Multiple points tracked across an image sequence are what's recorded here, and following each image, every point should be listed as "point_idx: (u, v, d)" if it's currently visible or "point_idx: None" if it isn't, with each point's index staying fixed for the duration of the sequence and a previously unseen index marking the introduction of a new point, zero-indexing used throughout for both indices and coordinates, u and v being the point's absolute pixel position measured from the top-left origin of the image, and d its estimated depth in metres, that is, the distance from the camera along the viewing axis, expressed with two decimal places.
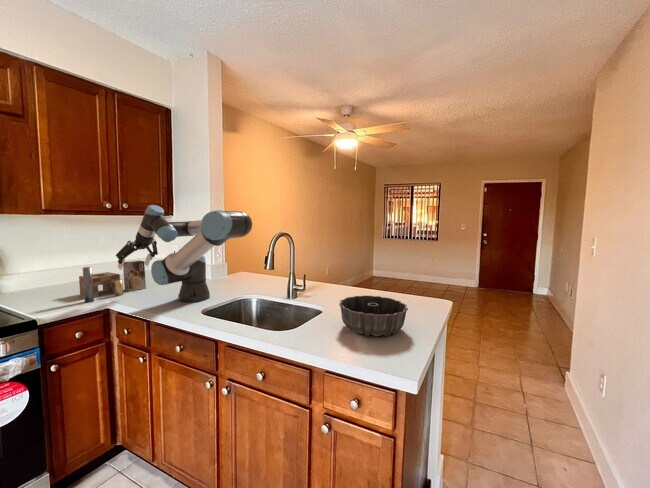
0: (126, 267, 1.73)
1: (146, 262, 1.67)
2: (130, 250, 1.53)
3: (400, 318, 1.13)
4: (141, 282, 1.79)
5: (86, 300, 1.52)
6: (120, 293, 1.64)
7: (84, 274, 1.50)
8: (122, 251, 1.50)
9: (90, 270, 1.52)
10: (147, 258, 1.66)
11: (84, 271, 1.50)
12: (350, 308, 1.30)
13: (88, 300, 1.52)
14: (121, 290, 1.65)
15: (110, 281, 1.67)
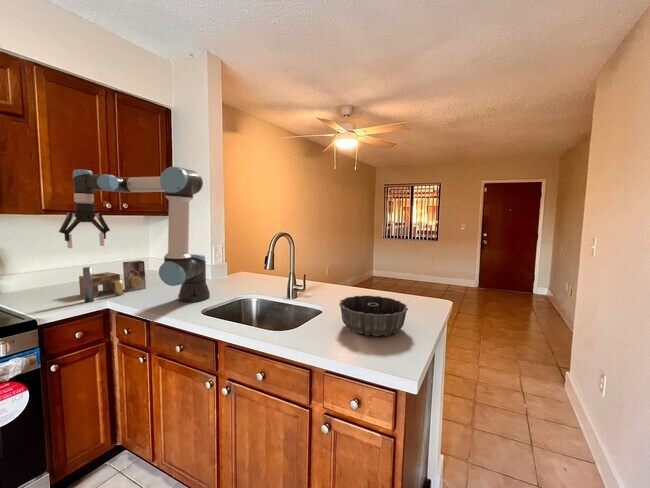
0: (126, 267, 1.73)
1: (101, 242, 1.57)
2: (73, 223, 1.45)
3: (400, 318, 1.13)
4: (141, 282, 1.79)
5: (86, 300, 1.52)
6: (120, 293, 1.64)
7: (84, 274, 1.50)
8: (64, 224, 1.42)
9: (90, 270, 1.52)
10: (100, 237, 1.56)
11: (84, 271, 1.50)
12: (350, 308, 1.30)
13: (88, 300, 1.52)
14: (121, 290, 1.65)
15: (110, 281, 1.67)
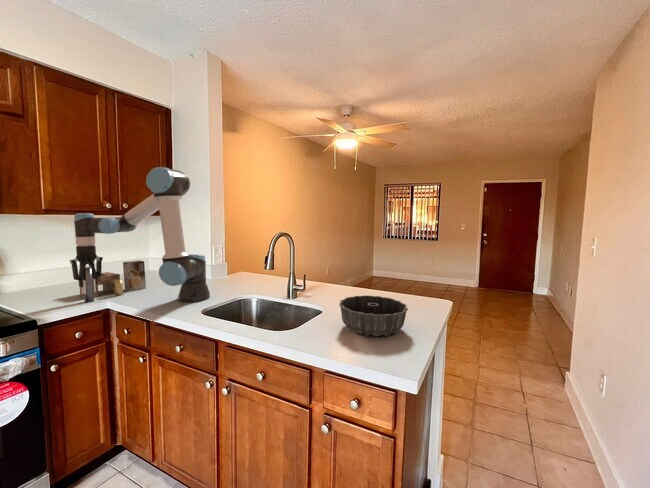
0: (126, 267, 1.73)
1: None
2: (81, 269, 1.49)
3: (400, 318, 1.13)
4: (141, 282, 1.79)
5: (86, 300, 1.52)
6: (120, 293, 1.64)
7: (84, 274, 1.50)
8: (74, 272, 1.47)
9: (90, 270, 1.52)
10: None
11: None
12: (350, 308, 1.30)
13: (88, 300, 1.52)
14: (121, 290, 1.65)
15: (110, 281, 1.67)
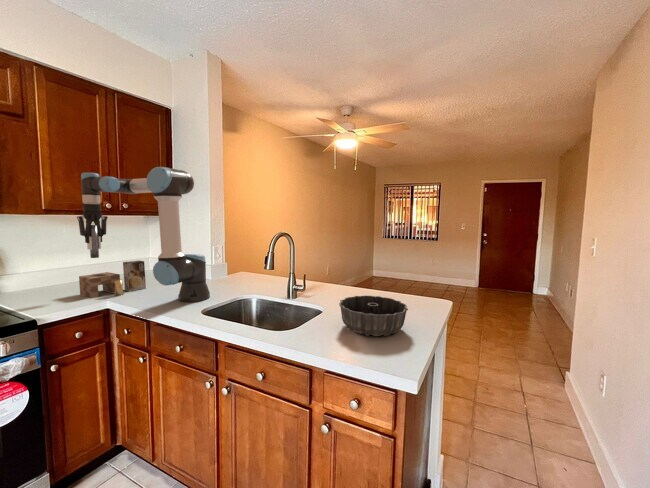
0: (126, 267, 1.73)
1: (98, 245, 1.63)
2: (87, 225, 1.58)
3: (400, 318, 1.13)
4: (141, 282, 1.79)
5: (92, 256, 1.60)
6: (120, 293, 1.64)
7: (90, 231, 1.59)
8: (81, 228, 1.56)
9: (96, 227, 1.60)
10: None
11: None
12: (350, 308, 1.30)
13: (94, 256, 1.61)
14: (121, 290, 1.65)
15: (110, 281, 1.67)
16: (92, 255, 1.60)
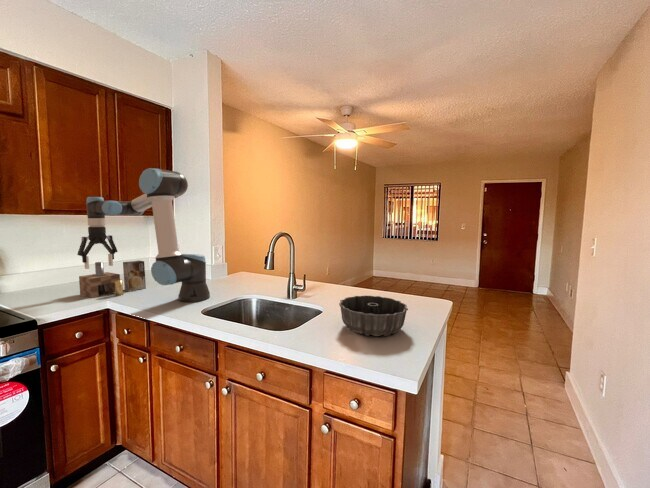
0: (126, 267, 1.73)
1: (110, 262, 1.72)
2: (88, 246, 1.62)
3: (400, 318, 1.13)
4: (141, 282, 1.79)
5: (98, 292, 1.67)
6: (120, 293, 1.64)
7: (96, 268, 1.66)
8: (81, 247, 1.59)
9: (102, 265, 1.67)
10: (109, 258, 1.72)
11: (96, 265, 1.66)
12: (350, 308, 1.30)
13: (100, 292, 1.67)
14: (121, 290, 1.65)
15: (110, 281, 1.67)
16: (98, 291, 1.67)
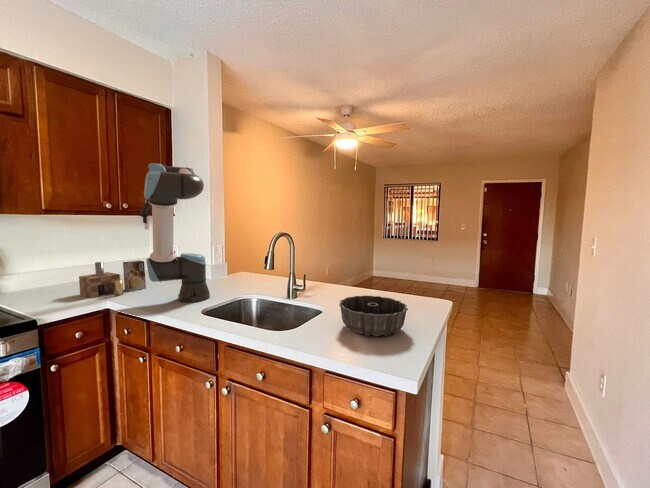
0: (126, 267, 1.73)
1: None
2: (149, 208, 1.73)
3: (400, 318, 1.13)
4: (141, 282, 1.79)
5: (98, 292, 1.67)
6: (120, 293, 1.64)
7: (96, 268, 1.66)
8: (143, 209, 1.70)
9: (102, 265, 1.67)
10: None
11: (96, 265, 1.66)
12: (350, 308, 1.30)
13: (100, 292, 1.67)
14: (121, 290, 1.65)
15: (110, 281, 1.67)
16: (98, 291, 1.67)
